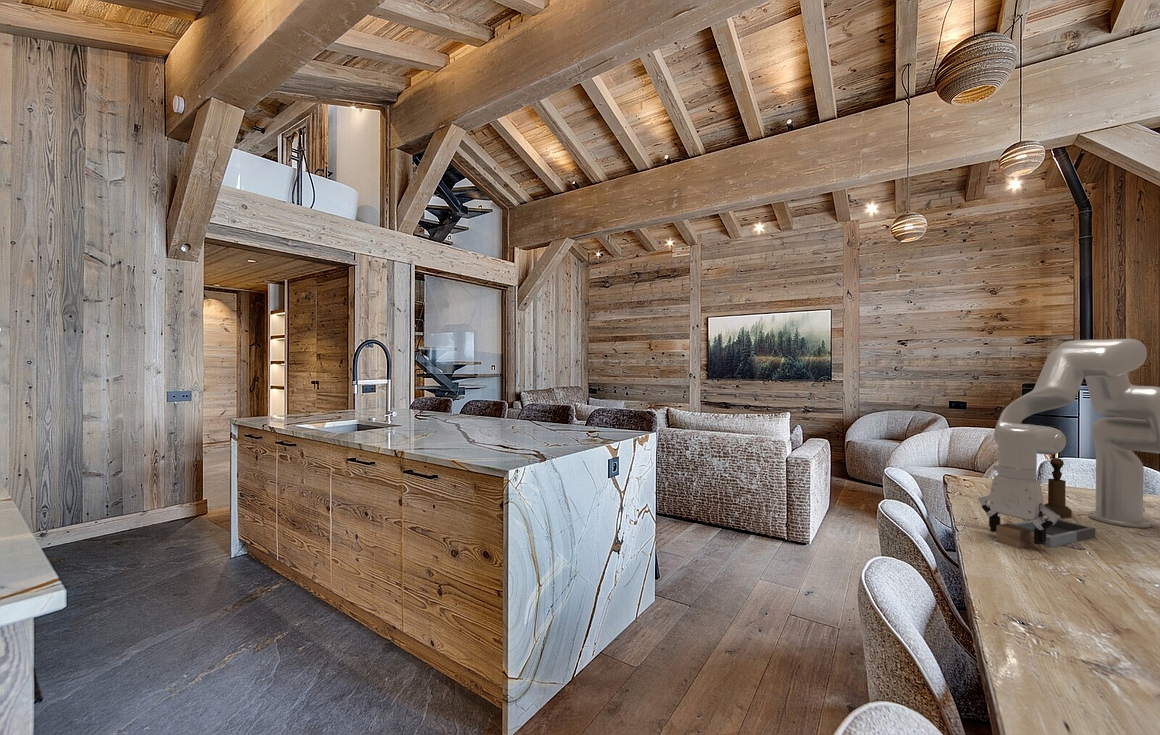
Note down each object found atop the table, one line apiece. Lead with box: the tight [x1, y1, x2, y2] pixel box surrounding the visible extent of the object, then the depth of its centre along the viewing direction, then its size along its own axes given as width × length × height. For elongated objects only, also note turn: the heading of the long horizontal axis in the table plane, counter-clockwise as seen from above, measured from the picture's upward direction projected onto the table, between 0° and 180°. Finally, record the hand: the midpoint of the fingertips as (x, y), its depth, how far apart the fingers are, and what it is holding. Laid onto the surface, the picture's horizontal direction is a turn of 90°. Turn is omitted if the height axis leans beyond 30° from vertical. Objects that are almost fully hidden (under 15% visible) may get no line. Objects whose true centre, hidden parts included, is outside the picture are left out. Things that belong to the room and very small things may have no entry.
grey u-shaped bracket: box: [1012, 516, 1097, 549], centre depth 130 cm, size 21×10×2 cm, turn 110°
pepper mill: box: [1044, 457, 1073, 519], centre depth 148 cm, size 7×6×18 cm
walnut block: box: [995, 522, 1032, 549], centre depth 124 cm, size 5×5×4 cm
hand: (1016, 537), depth 125 cm, fingers open, 9 cm apart
